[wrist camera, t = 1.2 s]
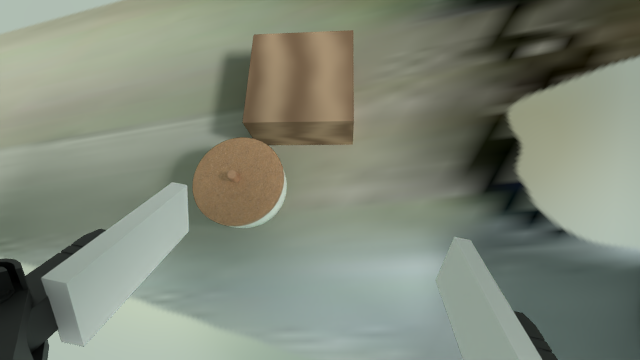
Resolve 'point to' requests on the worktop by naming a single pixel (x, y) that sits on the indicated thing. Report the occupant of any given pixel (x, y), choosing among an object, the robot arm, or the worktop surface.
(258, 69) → the walnut block
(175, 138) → the worktop surface
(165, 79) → the worktop surface
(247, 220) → the lidded jar
